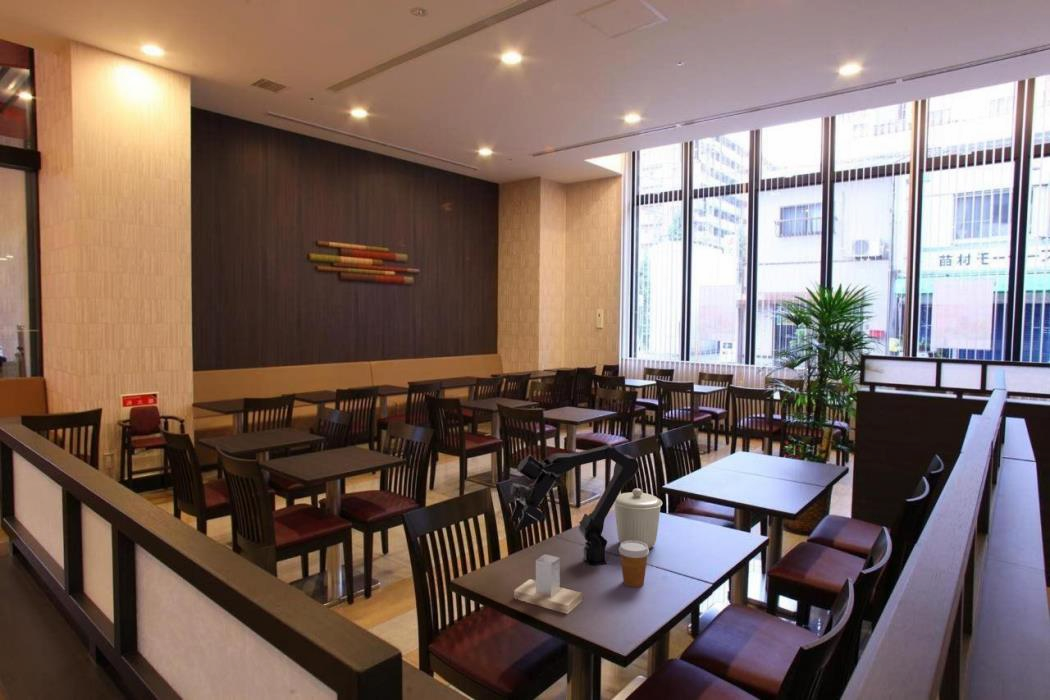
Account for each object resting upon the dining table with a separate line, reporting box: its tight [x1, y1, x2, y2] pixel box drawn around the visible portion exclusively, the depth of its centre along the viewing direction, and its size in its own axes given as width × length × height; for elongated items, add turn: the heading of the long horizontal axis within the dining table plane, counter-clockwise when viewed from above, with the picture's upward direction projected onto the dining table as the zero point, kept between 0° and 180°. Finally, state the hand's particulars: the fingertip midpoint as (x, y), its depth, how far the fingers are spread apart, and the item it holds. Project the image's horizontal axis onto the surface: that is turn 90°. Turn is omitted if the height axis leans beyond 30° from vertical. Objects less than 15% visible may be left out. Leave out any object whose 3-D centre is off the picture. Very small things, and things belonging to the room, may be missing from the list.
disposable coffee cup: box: [618, 541, 650, 588], centre depth 188 cm, size 10×10×12 cm
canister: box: [613, 488, 663, 549], centre depth 220 cm, size 18×18×21 cm
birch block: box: [513, 578, 583, 615], centre depth 177 cm, size 18×9×6 cm, turn 58°
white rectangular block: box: [535, 553, 561, 597], centre depth 177 cm, size 5×5×10 cm
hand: (513, 526), depth 199 cm, fingers open, 9 cm apart
